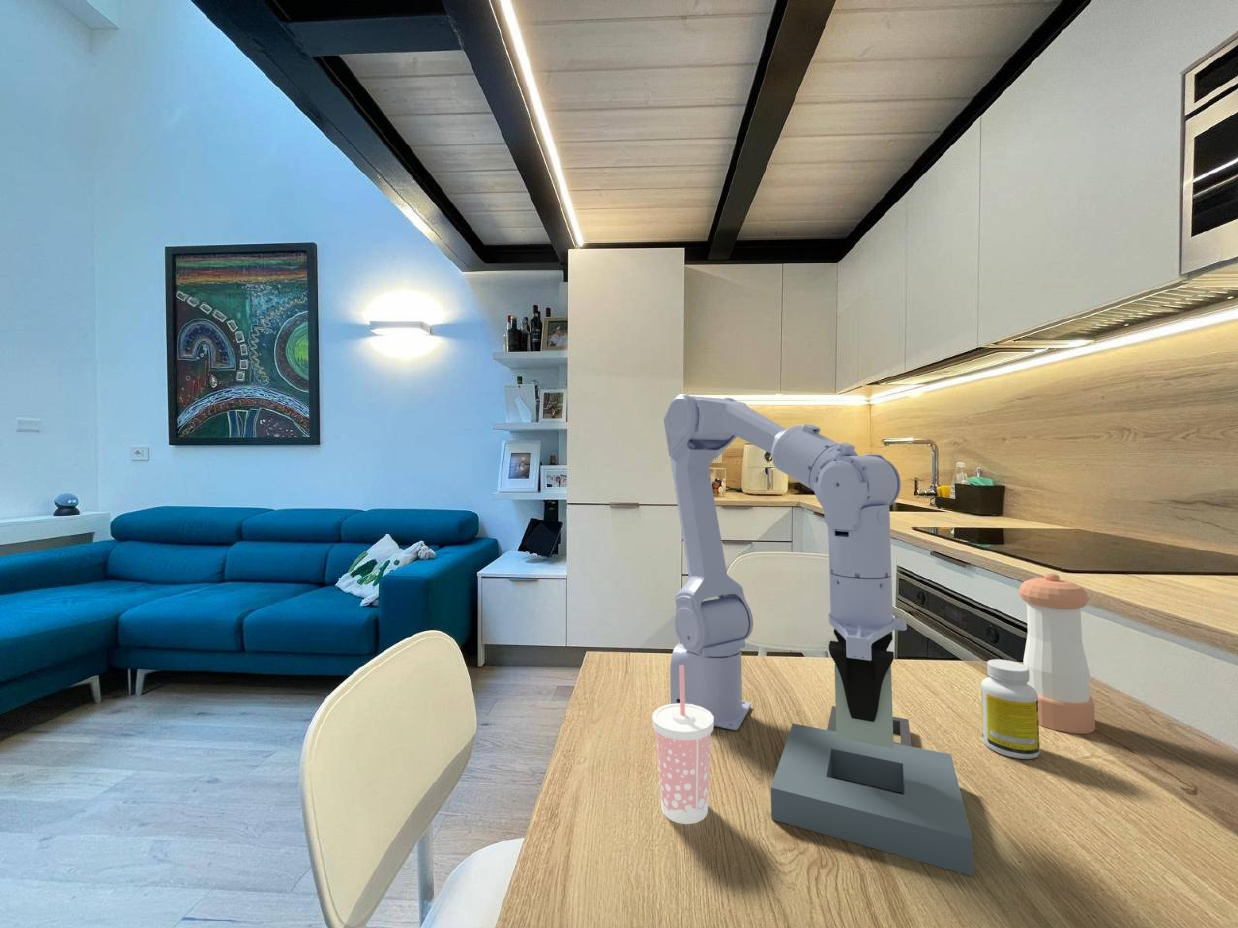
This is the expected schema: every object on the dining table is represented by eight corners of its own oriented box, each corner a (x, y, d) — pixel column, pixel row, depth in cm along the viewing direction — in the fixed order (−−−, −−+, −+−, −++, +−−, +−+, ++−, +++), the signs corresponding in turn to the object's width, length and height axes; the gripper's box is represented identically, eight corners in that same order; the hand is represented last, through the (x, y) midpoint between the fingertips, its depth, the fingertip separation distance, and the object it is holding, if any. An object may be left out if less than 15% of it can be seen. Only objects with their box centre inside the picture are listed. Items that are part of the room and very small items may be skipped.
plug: (836, 737, 51) (834, 655, 51) (839, 719, 54) (837, 644, 55) (893, 748, 48) (891, 663, 49) (892, 729, 52) (890, 650, 52)
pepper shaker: (1040, 703, 72) (1034, 566, 72) (1106, 725, 65) (1100, 575, 66) (1010, 714, 69) (1005, 571, 69) (1077, 739, 62) (1071, 581, 63)
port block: (771, 819, 49) (770, 787, 49) (793, 748, 61) (792, 723, 61) (973, 876, 41) (972, 838, 41) (952, 783, 54) (951, 754, 54)
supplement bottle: (1051, 763, 57) (1047, 674, 57) (996, 758, 58) (993, 671, 59) (1023, 738, 63) (1020, 658, 63) (973, 734, 64) (971, 655, 64)
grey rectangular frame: (826, 745, 62) (826, 732, 62) (832, 717, 69) (832, 705, 69) (912, 763, 58) (912, 749, 58) (908, 731, 65) (908, 719, 65)
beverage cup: (696, 784, 54) (694, 651, 55) (728, 819, 49) (724, 671, 49) (644, 797, 52) (641, 659, 53) (670, 836, 47) (667, 681, 47)
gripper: (908, 591, 44) (913, 753, 43) (901, 564, 56) (905, 688, 56) (820, 584, 47) (824, 735, 46) (833, 560, 60) (836, 678, 59)
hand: (863, 708), depth 51 cm, fingers closed on plug, 4 cm apart
